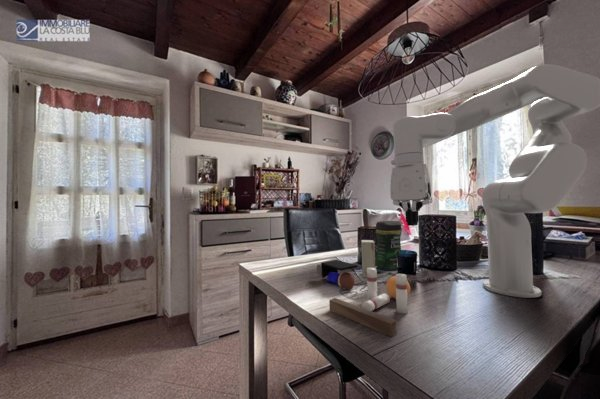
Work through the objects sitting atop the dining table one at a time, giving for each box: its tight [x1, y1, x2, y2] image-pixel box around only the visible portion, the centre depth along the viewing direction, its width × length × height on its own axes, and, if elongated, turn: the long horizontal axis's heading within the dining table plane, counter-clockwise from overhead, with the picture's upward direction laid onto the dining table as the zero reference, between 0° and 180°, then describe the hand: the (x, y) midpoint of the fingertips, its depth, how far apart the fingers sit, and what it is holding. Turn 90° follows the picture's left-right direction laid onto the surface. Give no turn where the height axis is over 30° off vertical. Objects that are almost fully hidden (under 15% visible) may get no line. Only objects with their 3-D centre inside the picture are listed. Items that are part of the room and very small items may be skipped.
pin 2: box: [395, 273, 409, 315], centre depth 58 cm, size 2×2×8 cm
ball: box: [385, 275, 411, 300], centre depth 65 cm, size 6×6×6 cm
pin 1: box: [366, 267, 378, 301], centre depth 64 cm, size 2×2×8 cm
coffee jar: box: [375, 220, 403, 271], centre depth 96 cm, size 10×8×19 cm
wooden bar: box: [328, 297, 397, 338], centre depth 54 cm, size 2×16×2 cm, turn 40°
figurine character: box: [316, 259, 358, 290], centre depth 79 cm, size 7×8×15 cm
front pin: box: [360, 293, 391, 312], centre depth 60 cm, size 2×2×8 cm
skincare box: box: [360, 239, 376, 279], centre depth 87 cm, size 6×4×12 cm
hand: (412, 225), depth 70 cm, fingers closed
